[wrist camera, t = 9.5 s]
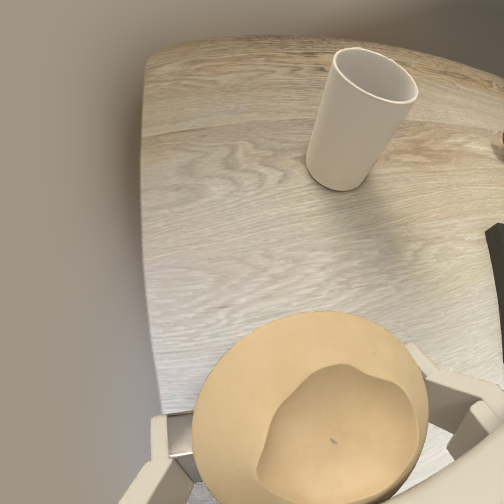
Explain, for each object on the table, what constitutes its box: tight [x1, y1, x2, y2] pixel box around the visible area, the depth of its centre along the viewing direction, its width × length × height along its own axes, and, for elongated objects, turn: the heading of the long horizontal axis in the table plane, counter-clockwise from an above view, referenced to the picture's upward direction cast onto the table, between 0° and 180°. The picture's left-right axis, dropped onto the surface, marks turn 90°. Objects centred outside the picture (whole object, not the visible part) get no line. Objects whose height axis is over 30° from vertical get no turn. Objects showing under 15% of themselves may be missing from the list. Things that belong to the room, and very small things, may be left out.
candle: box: [191, 311, 429, 504], centre depth 9 cm, size 6×6×10 cm
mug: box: [306, 47, 418, 191], centre depth 25 cm, size 10×7×12 cm, turn 177°
